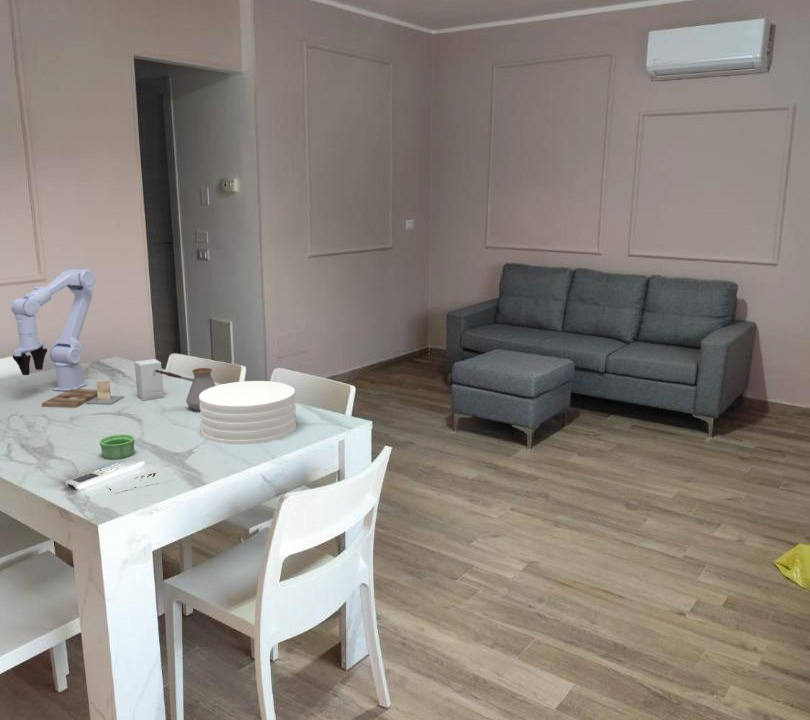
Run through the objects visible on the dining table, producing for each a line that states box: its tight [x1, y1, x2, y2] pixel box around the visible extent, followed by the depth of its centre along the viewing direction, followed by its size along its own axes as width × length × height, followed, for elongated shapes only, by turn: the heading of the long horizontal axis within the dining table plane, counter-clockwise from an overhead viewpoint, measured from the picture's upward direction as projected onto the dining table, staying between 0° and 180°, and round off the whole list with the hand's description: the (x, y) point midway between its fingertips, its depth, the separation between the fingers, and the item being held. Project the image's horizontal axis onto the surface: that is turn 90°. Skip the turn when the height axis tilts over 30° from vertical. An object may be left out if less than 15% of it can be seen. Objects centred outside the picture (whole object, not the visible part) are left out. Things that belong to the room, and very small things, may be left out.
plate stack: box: [199, 380, 297, 445], centre depth 222 cm, size 28×28×12 cm
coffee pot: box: [153, 367, 217, 412], centre depth 240 cm, size 21×12×15 cm, turn 122°
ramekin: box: [99, 434, 136, 460], centre depth 201 cm, size 9×9×4 cm
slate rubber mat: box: [85, 395, 125, 405], centre depth 254 cm, size 9×9×1 cm
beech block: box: [96, 380, 112, 402], centre depth 253 cm, size 4×4×6 cm
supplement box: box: [134, 358, 165, 401], centre depth 256 cm, size 7×7×13 cm
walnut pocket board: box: [41, 388, 98, 408], centre depth 255 cm, size 18×12×1 cm, turn 173°
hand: (32, 372), depth 254 cm, fingers open, 7 cm apart
